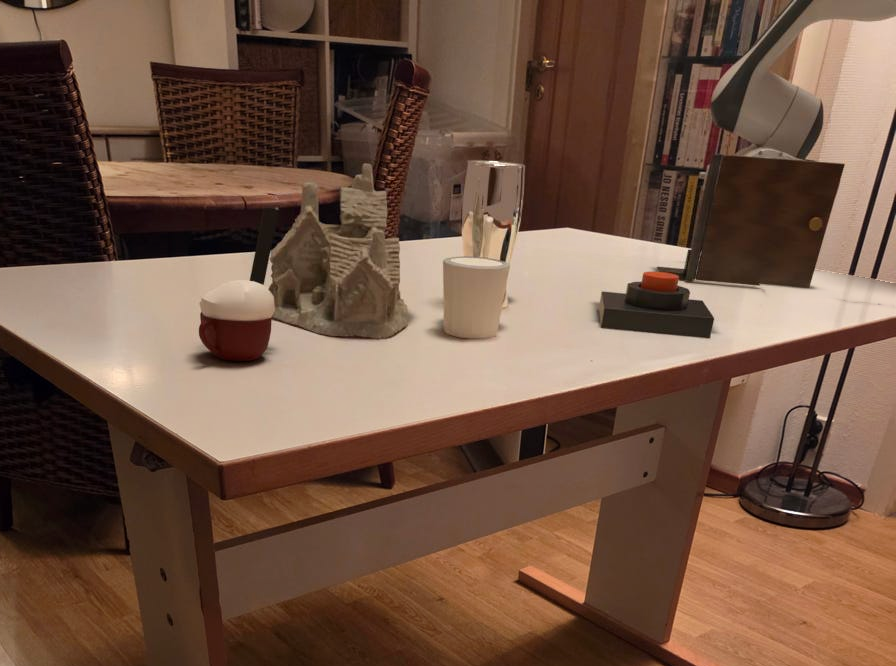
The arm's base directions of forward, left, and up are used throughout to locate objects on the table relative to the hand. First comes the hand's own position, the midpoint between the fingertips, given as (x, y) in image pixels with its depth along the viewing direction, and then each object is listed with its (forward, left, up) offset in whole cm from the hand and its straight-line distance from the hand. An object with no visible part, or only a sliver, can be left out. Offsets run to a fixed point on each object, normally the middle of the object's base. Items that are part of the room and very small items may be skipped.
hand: (778, 186), depth 129 cm
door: (+4, +13, -12) cm, 18 cm away
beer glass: (+40, +43, -12) cm, 60 cm away
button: (+20, +45, -9) cm, 50 cm away
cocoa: (+59, +76, -12) cm, 97 cm away
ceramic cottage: (+55, +58, -12) cm, 81 cm away
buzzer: (+20, +45, -12) cm, 51 cm away
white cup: (+40, +58, -12) cm, 71 cm away
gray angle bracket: (+14, +10, -12) cm, 21 cm away
